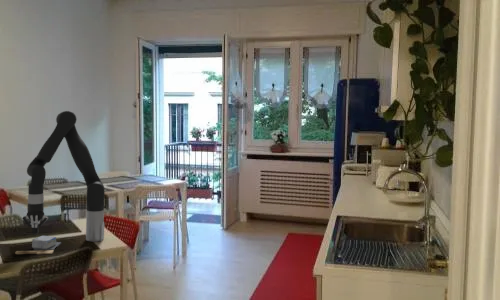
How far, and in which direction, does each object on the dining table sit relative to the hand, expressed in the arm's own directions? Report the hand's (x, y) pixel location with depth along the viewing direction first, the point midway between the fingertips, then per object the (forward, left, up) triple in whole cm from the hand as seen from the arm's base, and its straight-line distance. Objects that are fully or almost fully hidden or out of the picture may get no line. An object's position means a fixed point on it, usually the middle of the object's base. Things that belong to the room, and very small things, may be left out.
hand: (35, 234), depth 224 cm
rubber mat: (-6, 0, -6) cm, 9 cm away
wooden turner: (-5, +11, -6) cm, 14 cm away
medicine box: (-1, +1, -4) cm, 4 cm away
